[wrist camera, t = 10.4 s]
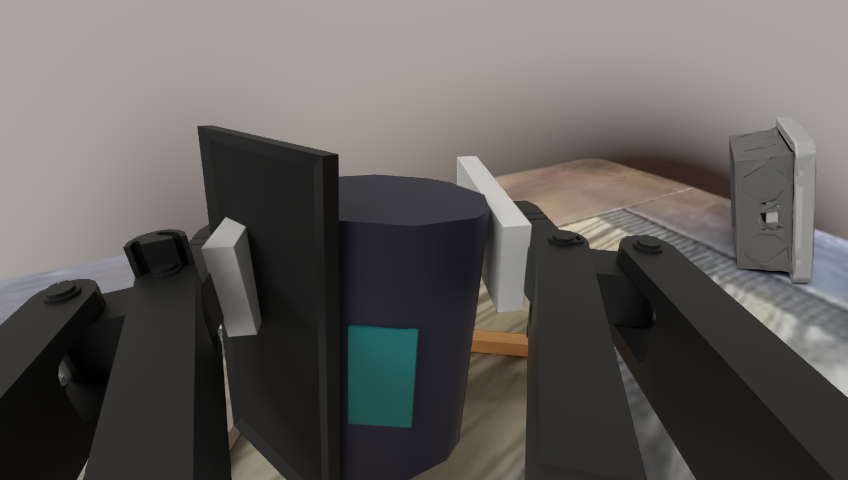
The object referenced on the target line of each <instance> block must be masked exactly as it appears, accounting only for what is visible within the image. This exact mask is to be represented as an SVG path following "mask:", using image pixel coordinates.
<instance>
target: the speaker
mask: <svg viewBox="0 0 848 480" xmlns="http://www.w3.org/2000/svg"><path fill="white" fill-rule="evenodd" d="M198 135H199V142H200V151H201V160H202V167H203V176H204V185H205V193H206V200H207V209H208V217H209V226H210V234H211V235H212V234H213V233H214V232H215V230H216V229H217V228H218V226H219V225H220V224H221V223H222V221H223V220H224V219H225V217H227V218H229V219H231V220H233V221H235V222H237V223H239V224H241V225H243V226H245V227H246V230H247V236H248V242H249V248H250V254H251V260H252V266H253V272H254V278H255V284H256V290H257V297H258V303H259V309H260V315H261V321H262V322H261V325H260V328H259V330H258V333H257V334H255V335H244V336H233V337H228V334H227V331H226V328H225V324H224V321H222V323H221V326H222V334H223V342H224V351H225V359H226V367H227V376H228V384H229V392H230V400H231V409H232V417H233V425H234V426H235V427H236V428H237V429H238V431H239V432H240V433H241V434H242V435H243V436H244V437H245V438H246V439H247V440H248V441H249V442H250V443H251V444H252V445H253V446H254V447H255V448H256V449H257V450H258V451H259V452H260V453H261V454H262V455H263V456H264V457H265V458H266V459H267V460H268V461H269V462H270V463H271V464H272V465H273V466H274V467H275V468H276V469H277V470H278V472H279V473H280V474H281V475H282V476H283V477H284V478H285V479H286V480H408V479H410V478H412V477H414V476H416V475H418V474H420V473H422V472H424V471H426V470H428V469H430V468H432V467H434V466H436V465H438V464H440V463H442V462H444V461H446V460H447V458H448V457H449V455H450V454H451V452H452V451H453V449H454V448H455V446H456V444H457V443H458V441H459V436H460V428H461V421H462V413H463V406H464V399H465V391H466V384H467V377H468V369H469V362H470V354H471V347H472V340H473V332H474V325H475V318H476V310H477V303H478V295H479V288H480V281H481V273H482V266H483V258H484V251H485V244H486V236H487V229H488V222H489V214H490V209H489V206H488V203H487V200H486V197H485V195H484V194H481V193H478V192H476V191H473V190H470V189H467V188H464V187H461V186H459V185H456V184H453V183H450V182H444V181H439V180H433V179H427V178H414V177H401V176H387V175H361V176H343V177H339V172H338V171H339V166H338V165H339V162H338V154H335V153H331V152H326V151H322V150H317V149H313V148H309V147H304V146H300V145H296V144H291V143H287V142H282V141H278V140H273V139H269V138H265V137H260V136H256V135H252V134H247V133H243V132H239V131H234V130H230V129H226V128H221V127H217V126H198Z"/></svg>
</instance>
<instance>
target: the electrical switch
mask: <svg viewBox="0 0 848 480" xmlns="http://www.w3.org/2000/svg"><path fill="white" fill-rule="evenodd" d="M729 141H730V142H729V143H730V175H731V211H732V227H736V228H733V235H734V243H735V251H736V259H737V269H761V270H768V271H779V270H781V271H785V272H788V273H789V276H790V279H791V282H792V283H809V282H810V280H811V276H812V266H813V257H814V224H815V193H816V152H815V144H814V141H813V140H812V139H811V138H810V137H809V135H808V134H807V133H806V132H805V131H804V130H803V129H802V128H801V126H800V125H799V124H798V123H797V122H796V121H795V120H794V118H793V117H780V118H776V127H775V128H773V129H770V130H767V131H758V132H754V133H751V134H743V135H733V136H729Z"/></svg>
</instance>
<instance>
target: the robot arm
mask: <svg viewBox="0 0 848 480" xmlns="http://www.w3.org/2000/svg"><path fill="white" fill-rule="evenodd" d="M457 185H459V186H461V187H464V188H467V189H470V190H473V191H476V192H478V193H481V194H484V195H485V197H486V200H487V203H488V206H489V209H490V214H489V222H488V229H487V236H486V244H485V251H484V258H483V266H482V273H481V276H482V279H483V281H484V283H485V286H486V288H487V290H488V292H489V295H490V297H491V299H492V302H493V304H494V306H495V308H496V311H497V313H499V312H510V311H521V310H523V305H524V295H526V296H527V298H528V300H529V302H530V307H529V316H528V325H527V334H526V338H528V362H527V410H526V458H525V480H647V478H646V475H645V471H644V467H643V463H642V458H641V454H640V450H639V446H638V442H637V438H636V434H635V430H634V426H633V422H632V418H631V414H630V410H629V406H628V402H627V397H626V393H625V389H624V385H623V381H622V377H621V373H620V369H619V365H618V361H617V357H616V353H615V349H614V345H615V347H616V349H617V350H618V352H619V353H620V355H621V357H622V358H623V360H624V362H625V363H626V365H627V367H628V368H629V370H630V372H631V373H632V375H633V376H634V378H635V380H636V381H637V383H638V385H639V386H640V388H641V390H642V391H643V393H644V395H645V396H646V398H647V399H648V401H649V403H650V404H651V406H652V408H653V409H654V411H655V413H656V414H657V416H658V418H659V419H660V421H661V423H662V424H663V426H664V427H665V429H666V431H667V432H668V434H669V436H670V437H671V439H672V441H673V442H674V444H675V446H676V447H677V449H678V450H679V452H680V454H681V455H682V457H683V459H684V460H685V462H686V464H687V465H688V467H689V469H690V470H691V472H692V473H693V475H694V477H695V478H696V480H848V397H846V396H845V395H844V394H843V393H842V392H841V391H840V390H838V389H837V388H836V387H835V386H834V385H833V384H831V383H830V382H829V381H828V380H827V379H826V378H825V377H823V376H822V375H821V374H820V373H819V372H818V371H816V370H815V369H814V368H813V367H812V366H811V365H810V364H808V363H807V362H806V361H805V360H804V359H803V358H802V357H800V356H799V355H798V354H797V353H796V352H795V351H793V350H792V349H791V348H790V347H789V346H788V345H787V344H785V343H784V342H783V341H782V340H781V339H780V338H778V337H777V336H776V335H775V334H774V333H773V332H772V331H770V330H769V329H768V328H767V327H766V326H765V325H764V324H762V323H761V322H760V321H759V320H758V319H757V318H755V317H754V316H753V315H752V314H751V313H750V312H749V311H747V310H746V309H745V308H744V307H743V306H742V305H740V304H739V303H738V302H737V301H736V300H735V299H734V298H732V297H731V296H730V295H729V294H728V293H727V292H725V291H724V290H723V289H722V288H721V287H720V286H719V285H717V284H716V283H715V282H714V281H713V280H712V279H711V278H709V277H708V276H707V275H706V274H705V273H704V272H702V271H701V270H700V269H699V268H698V267H697V266H696V265H694V264H693V263H692V262H691V261H690V260H689V259H687V258H686V257H685V256H684V255H683V254H682V253H681V252H679V251H678V250H677V249H676V248H675V247H674V246H672V245H671V244H669V243H667V242H666V241H663V240H660V239H658V238H657V237H653V236H651V237H650V236H648V235H643V236H638V235H635V236H627V237H625V238H623V239H622V240H621V241H620V244H619V249H618V251H606V250H596V249H590V247H589V243H588V241H587V240H586V238H584V237H583V236H581V235H580V234H577V233H574V232H571V231H565V230H559V229H558V228H557V227H556V226H555V225H554V224H553V223H552V221H551V220H550V219H548V217H547V216H546V215H545V214H543V212H542V211H541V210H540V209H539V207H538V206H536V205H534V204H532V203H530V202H528V201H512V200H511V199H510V197H509V196H508V195H507V194H506V193H505V191H504V190H503V189H502V188H501V186H500V185H499V184H498V183H497V181H496V180H495V179H494V178H493V176H492V175H491V174H490V173H489V171H488V170H487V169H486V168H485V167H484V166H483V164H482V163H481V162H480V160H479V159H478V158H477V157H476V156H467V157H457ZM123 248H124V251H125V253H126V256H127V258H128V261H129V263H130V266H131V268H132V270H133V273H134V275H135V281H134V285H133V287H130V288H127V289H122V290H118V291H113V292H109V293H105V294H102V293H101V291H100V289H99V287H98V285H97V283H96V281H94V280H90V279H77V280H72V281H63V282H59V284H58V283H56V284H53V285H51V286H49V287H48V288H47V289H45V290H42V291H40V292H38V293H37V294H36V295H34V296H33V297H31V298H30V299H29V300H28V301H27V302H26V303H24V304H23V305H22V306H21V307H20V308H19V309H18V310H17V311H16V312H15V313H14V314H12V315H11V316H10V317H9V318H8V319H7V320H6V321H5V322H4V323H3V324H1V325H0V480H77V478H78V477H79V475H80V473H81V471H82V469H83V467H84V466H85V464H86V462H87V460H88V463H87V466H86V470H85V474H84V478H83V480H232V478H231V464H230V451H229V437H228V423H227V410H226V396H225V383H224V369H223V356H222V344H221V341H220V338H219V335H218V332H217V331H218V329H219V327H220V325H221V323H222V321H224V324H225V328H226V331H227V334H228V337H233V336H244V335H255V334H257V333H258V330H259V328H260V325H261V322H262V321H261V315H260V309H259V303H258V297H257V290H256V284H255V278H254V272H253V266H252V260H251V254H250V248H249V242H248V236H247V230H246V227H245V226H243V225H241V224H239V223H237V222H235V221H233V220H231V219H229V218H227V217H225V219H224V220H223V221H222V223H221V224H220V225H219V226H218V228H217V229H216V230H215V232H214V233H213V234H212V235H211V234H210V226H209V225H207V226H205V227H204V228H202V229H200V230H199V231H198V232H197V233H196V234H195V236H194V237H193V238H192V240H190V241H189V242H188V239H187V236H186V234H185V232H183V231H180V230H171V229H168V230H160V231H155V232H151V233H147V234H144V235H141V236H139V237H136V238H134V239H133V240H131V241H129V242H128V243H127V244H126V245H125V246H124V247H123ZM613 344H614V345H613ZM59 367H60V369H61V371H62V373H63V374H64V377H63V379H62V380H61V381H60V380H59V377H58V372H59ZM88 458H89V459H88Z"/></svg>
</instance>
